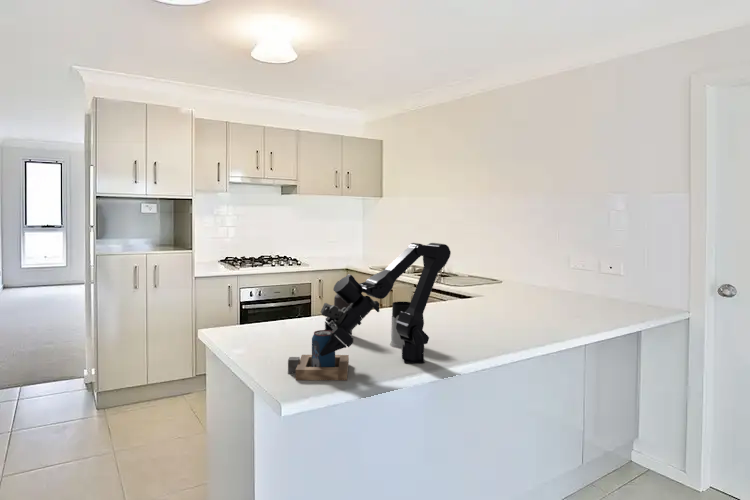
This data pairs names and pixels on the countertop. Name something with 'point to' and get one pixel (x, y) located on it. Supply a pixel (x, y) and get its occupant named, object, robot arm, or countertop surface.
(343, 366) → the wooden square frame
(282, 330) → the countertop surface
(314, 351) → the soda can
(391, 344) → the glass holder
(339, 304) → the bottle
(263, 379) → the countertop surface
